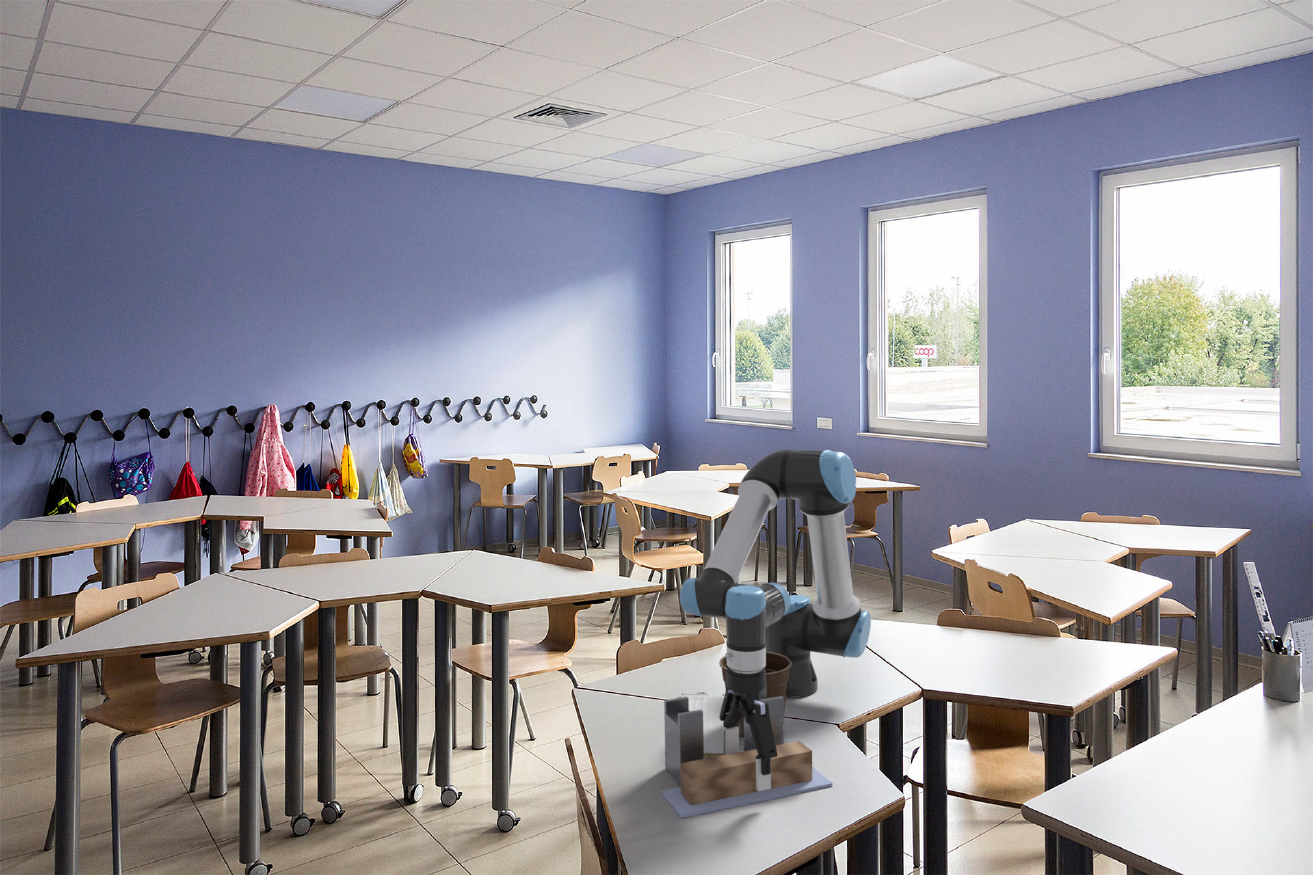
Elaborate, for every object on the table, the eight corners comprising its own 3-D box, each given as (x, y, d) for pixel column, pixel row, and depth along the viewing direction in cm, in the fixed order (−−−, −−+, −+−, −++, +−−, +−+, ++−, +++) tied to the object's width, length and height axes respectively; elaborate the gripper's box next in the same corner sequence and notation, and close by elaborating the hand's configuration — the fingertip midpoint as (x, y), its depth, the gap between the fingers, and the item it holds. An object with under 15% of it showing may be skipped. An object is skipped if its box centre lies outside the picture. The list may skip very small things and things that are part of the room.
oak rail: (799, 769, 178) (799, 740, 178) (812, 780, 174) (812, 750, 173) (680, 793, 169) (680, 763, 169) (690, 805, 164) (690, 774, 164)
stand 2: (765, 749, 189) (764, 683, 188) (784, 766, 181) (783, 697, 180) (744, 753, 187) (743, 687, 186) (762, 770, 179) (761, 701, 178)
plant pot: (710, 721, 205) (709, 653, 203) (774, 712, 209) (774, 646, 208) (735, 750, 189) (734, 677, 188) (804, 740, 193) (803, 668, 192)
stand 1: (687, 764, 183) (686, 696, 182) (704, 781, 175) (703, 711, 174) (665, 768, 181) (664, 700, 180) (680, 786, 173) (679, 715, 172)
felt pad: (806, 764, 182) (806, 761, 182) (832, 785, 172) (832, 782, 172) (661, 793, 170) (661, 790, 170) (681, 817, 161) (681, 814, 161)
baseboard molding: (667, 758, 187) (723, 760, 186) (667, 745, 187) (723, 746, 186) (675, 703, 218) (724, 703, 217) (675, 691, 218) (724, 692, 217)
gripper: (702, 650, 180) (704, 751, 181) (758, 692, 156) (759, 806, 158) (735, 646, 182) (736, 745, 184) (795, 686, 159) (796, 798, 161)
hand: (747, 773), depth 171 cm, fingers open, 13 cm apart
